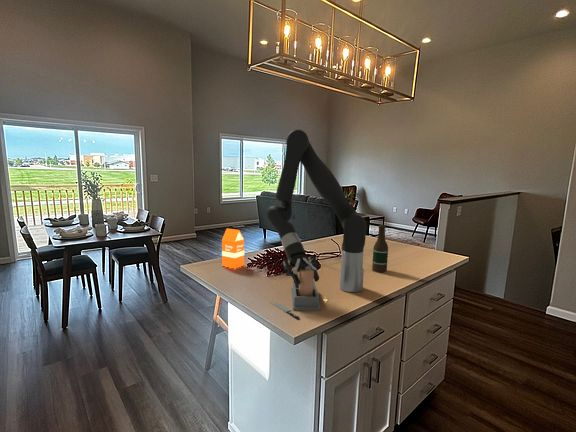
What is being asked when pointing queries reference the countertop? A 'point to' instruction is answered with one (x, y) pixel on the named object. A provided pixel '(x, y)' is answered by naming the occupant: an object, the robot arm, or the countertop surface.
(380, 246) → the beer bottle
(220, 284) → the countertop surface
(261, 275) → the countertop surface
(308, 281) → the tan cylinder
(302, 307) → the box
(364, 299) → the countertop surface
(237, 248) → the orange juice
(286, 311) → the chef's knife
